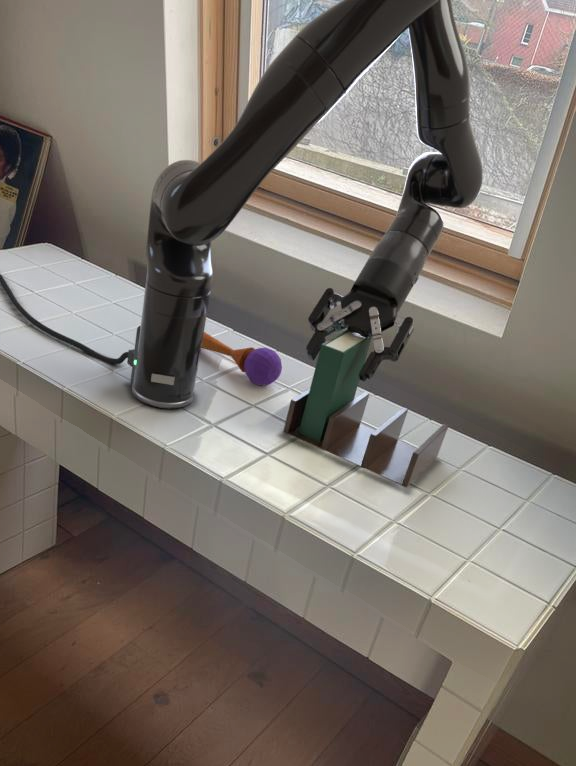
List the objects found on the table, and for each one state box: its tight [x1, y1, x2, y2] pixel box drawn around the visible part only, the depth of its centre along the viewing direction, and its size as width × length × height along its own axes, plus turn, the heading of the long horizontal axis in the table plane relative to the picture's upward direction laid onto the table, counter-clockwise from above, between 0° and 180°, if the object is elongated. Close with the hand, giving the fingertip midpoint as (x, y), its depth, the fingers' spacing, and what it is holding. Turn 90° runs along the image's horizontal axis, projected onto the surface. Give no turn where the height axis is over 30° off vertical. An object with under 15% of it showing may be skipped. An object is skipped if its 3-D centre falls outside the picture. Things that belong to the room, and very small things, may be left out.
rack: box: [283, 387, 449, 488], centre depth 119 cm, size 20×12×6 cm, turn 55°
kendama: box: [201, 331, 283, 386], centre depth 136 cm, size 6×6×20 cm
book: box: [299, 329, 373, 442], centre depth 119 cm, size 4×10×14 cm, turn 145°
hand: (335, 367), depth 116 cm, fingers open, 8 cm apart
